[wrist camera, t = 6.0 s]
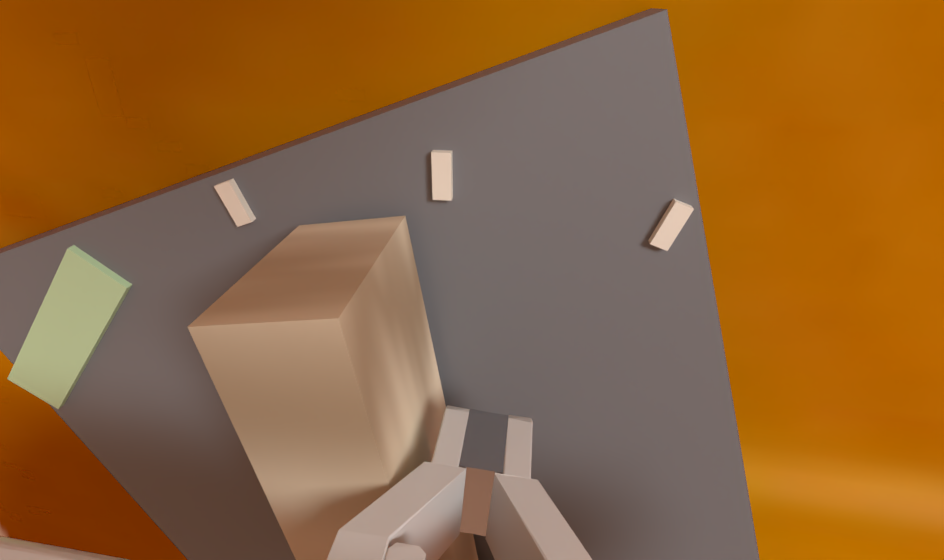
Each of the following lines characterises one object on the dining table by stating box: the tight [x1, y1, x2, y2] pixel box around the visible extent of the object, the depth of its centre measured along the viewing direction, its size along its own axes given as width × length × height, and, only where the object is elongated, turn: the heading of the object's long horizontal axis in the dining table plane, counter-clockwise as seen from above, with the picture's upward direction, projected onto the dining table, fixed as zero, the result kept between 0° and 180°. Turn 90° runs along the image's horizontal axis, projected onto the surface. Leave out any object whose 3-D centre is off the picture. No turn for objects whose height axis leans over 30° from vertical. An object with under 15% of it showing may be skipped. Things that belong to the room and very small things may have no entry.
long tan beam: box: [188, 216, 478, 560], centre depth 13 cm, size 16×4×4 cm, turn 8°
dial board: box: [0, 8, 759, 560], centre depth 17 cm, size 24×19×2 cm
